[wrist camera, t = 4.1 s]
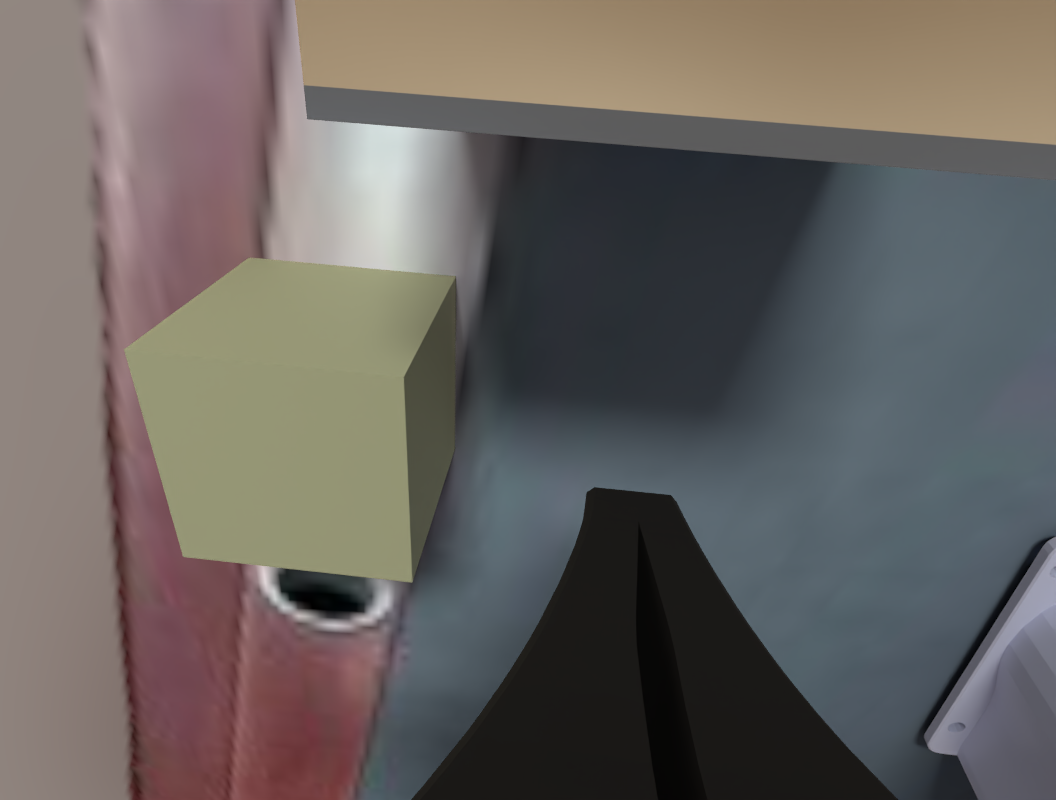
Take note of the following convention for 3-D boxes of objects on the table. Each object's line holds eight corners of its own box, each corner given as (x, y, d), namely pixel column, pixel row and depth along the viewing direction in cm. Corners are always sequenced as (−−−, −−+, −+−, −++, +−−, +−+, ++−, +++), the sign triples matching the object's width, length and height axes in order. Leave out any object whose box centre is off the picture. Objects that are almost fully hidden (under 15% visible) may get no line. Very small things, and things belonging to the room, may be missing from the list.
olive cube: (455, 447, 18) (412, 582, 14) (278, 428, 19) (183, 557, 14) (456, 275, 16) (403, 376, 11) (250, 256, 16) (123, 349, 12)
